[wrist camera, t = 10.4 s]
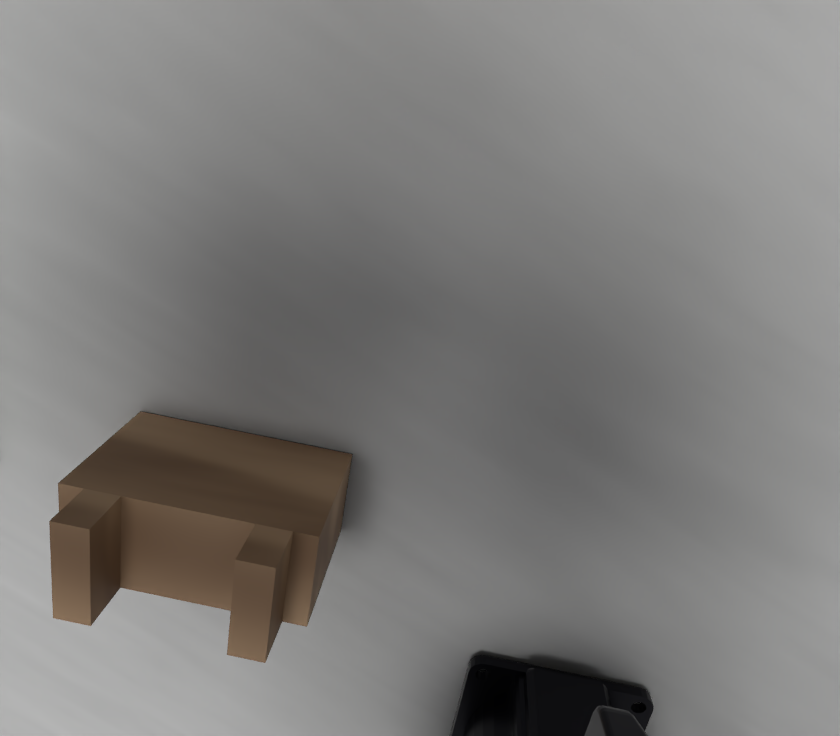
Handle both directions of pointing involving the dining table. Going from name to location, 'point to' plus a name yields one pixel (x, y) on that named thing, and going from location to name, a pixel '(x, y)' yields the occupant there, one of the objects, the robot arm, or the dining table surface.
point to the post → (200, 525)
